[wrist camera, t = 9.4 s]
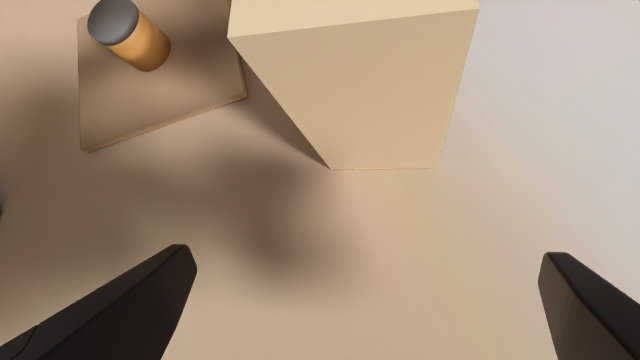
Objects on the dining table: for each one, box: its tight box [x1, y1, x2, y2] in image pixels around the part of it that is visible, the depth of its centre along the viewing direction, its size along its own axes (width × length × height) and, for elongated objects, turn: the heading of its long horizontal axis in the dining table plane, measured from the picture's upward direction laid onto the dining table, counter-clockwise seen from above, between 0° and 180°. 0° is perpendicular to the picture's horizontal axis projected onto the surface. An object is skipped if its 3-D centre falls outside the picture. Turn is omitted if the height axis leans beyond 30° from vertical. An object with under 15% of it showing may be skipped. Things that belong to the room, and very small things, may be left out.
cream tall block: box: [227, 0, 479, 170], centre depth 13 cm, size 5×5×11 cm
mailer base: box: [77, 0, 248, 152], centre depth 21 cm, size 10×11×4 cm
